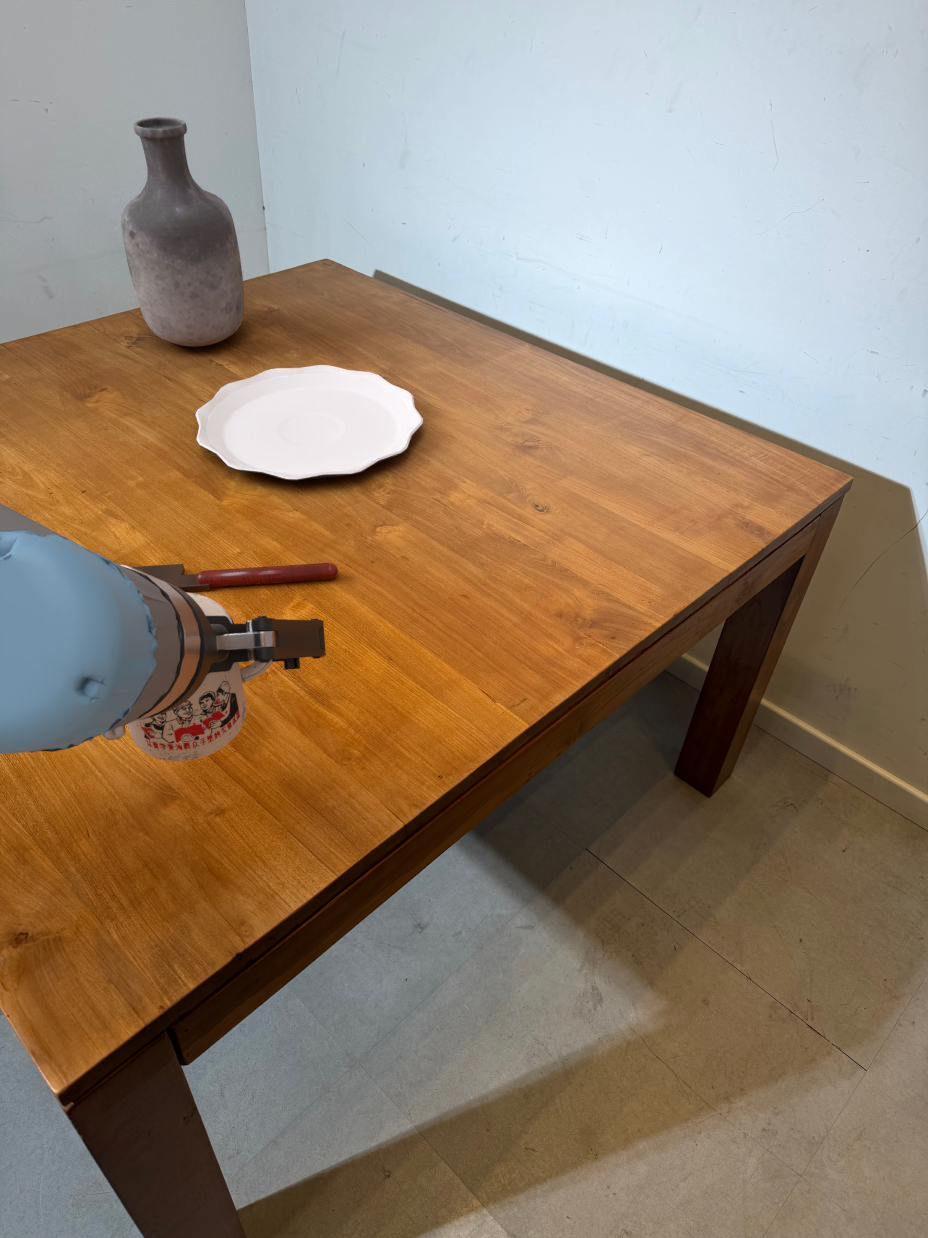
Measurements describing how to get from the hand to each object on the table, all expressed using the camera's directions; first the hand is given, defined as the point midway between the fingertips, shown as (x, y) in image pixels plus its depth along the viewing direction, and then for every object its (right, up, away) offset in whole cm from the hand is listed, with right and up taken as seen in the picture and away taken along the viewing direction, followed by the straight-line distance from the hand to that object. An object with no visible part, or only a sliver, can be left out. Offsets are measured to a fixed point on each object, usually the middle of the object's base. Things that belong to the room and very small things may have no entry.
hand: (200, 648), depth 63 cm
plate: (-1, +27, +49) cm, 56 cm away
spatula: (-6, +6, +25) cm, 27 cm away
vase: (-22, +46, +69) cm, 86 cm away
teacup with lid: (0, -5, +1) cm, 5 cm away
